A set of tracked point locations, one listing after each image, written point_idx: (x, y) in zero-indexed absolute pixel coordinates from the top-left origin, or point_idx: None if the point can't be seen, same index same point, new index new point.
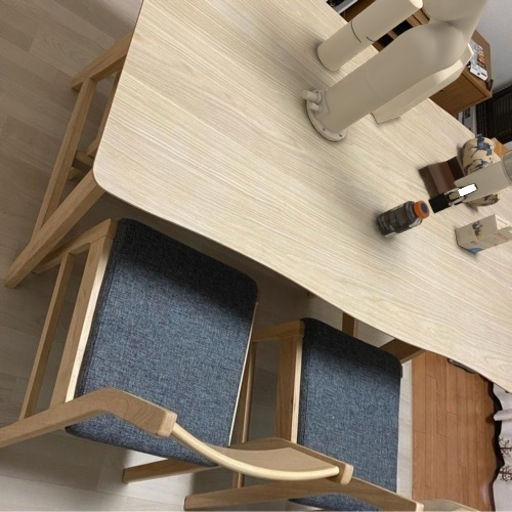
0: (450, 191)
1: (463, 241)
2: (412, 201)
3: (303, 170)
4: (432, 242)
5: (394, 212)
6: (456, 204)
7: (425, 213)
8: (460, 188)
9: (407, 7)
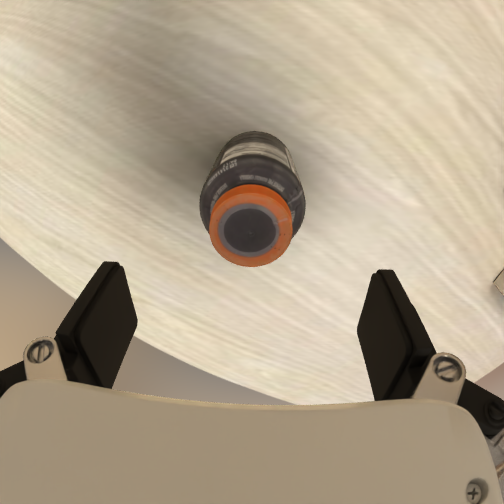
0: (27, 378)
1: (501, 288)
2: (262, 168)
3: (37, 13)
4: (429, 256)
5: (215, 163)
6: (359, 338)
7: (242, 252)
8: (398, 328)
9: None
